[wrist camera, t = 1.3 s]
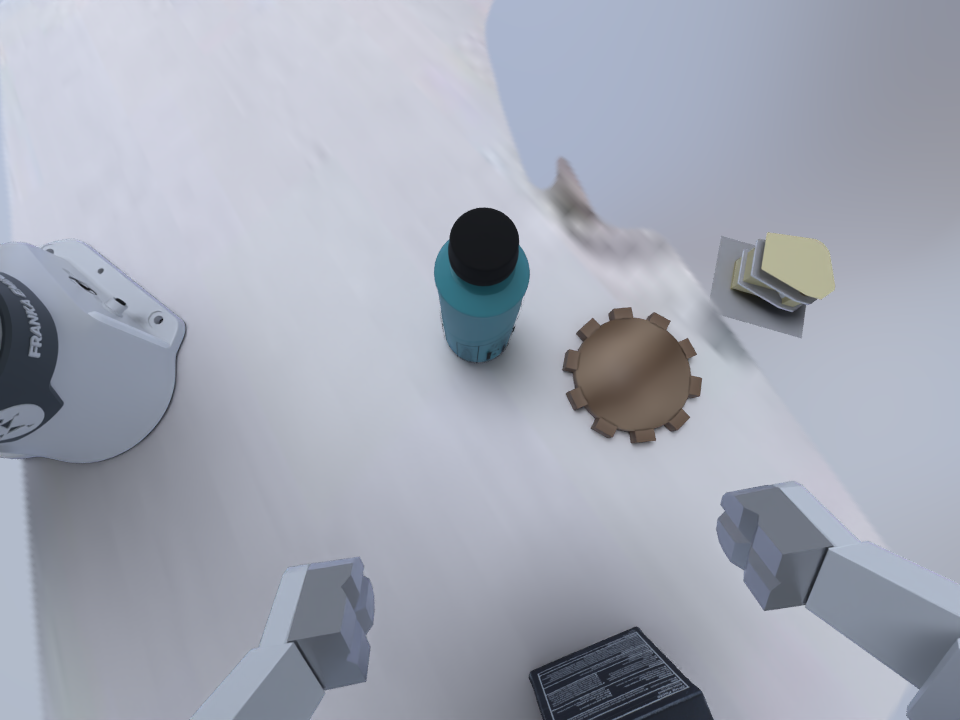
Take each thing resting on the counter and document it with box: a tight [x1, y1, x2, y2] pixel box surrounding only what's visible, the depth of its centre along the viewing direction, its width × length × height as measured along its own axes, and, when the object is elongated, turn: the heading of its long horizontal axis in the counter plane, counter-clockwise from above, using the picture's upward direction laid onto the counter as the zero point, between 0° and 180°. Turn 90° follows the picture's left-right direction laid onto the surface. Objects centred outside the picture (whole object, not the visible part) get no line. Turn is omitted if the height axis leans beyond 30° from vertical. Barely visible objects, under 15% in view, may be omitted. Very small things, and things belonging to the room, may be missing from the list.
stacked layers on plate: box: [710, 232, 835, 338], centre depth 43 cm, size 10×9×6 cm
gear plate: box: [562, 307, 702, 443], centre depth 42 cm, size 13×13×2 cm
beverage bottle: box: [434, 208, 530, 363], centre depth 33 cm, size 6×7×20 cm
